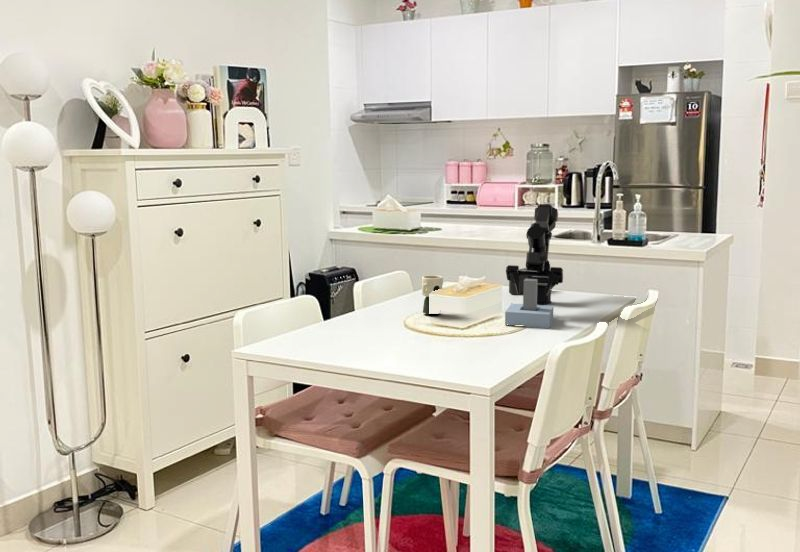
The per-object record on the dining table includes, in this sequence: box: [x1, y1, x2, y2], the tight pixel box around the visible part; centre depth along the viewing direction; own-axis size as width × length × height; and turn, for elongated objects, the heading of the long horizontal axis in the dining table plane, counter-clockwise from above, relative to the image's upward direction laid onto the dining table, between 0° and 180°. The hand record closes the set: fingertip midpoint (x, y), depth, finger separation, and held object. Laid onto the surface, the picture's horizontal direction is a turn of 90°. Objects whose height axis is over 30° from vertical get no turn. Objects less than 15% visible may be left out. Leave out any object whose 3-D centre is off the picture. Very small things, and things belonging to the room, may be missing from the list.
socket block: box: [504, 302, 555, 329], centre depth 266 cm, size 14×14×4 cm
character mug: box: [421, 274, 444, 315], centre depth 277 cm, size 11×7×13 cm, turn 145°
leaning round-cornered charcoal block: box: [508, 267, 528, 296], centre depth 317 cm, size 16×5×9 cm, turn 134°
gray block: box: [522, 279, 538, 311], centre depth 265 cm, size 4×4×13 cm
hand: (532, 294), depth 271 cm, fingers open, 9 cm apart
